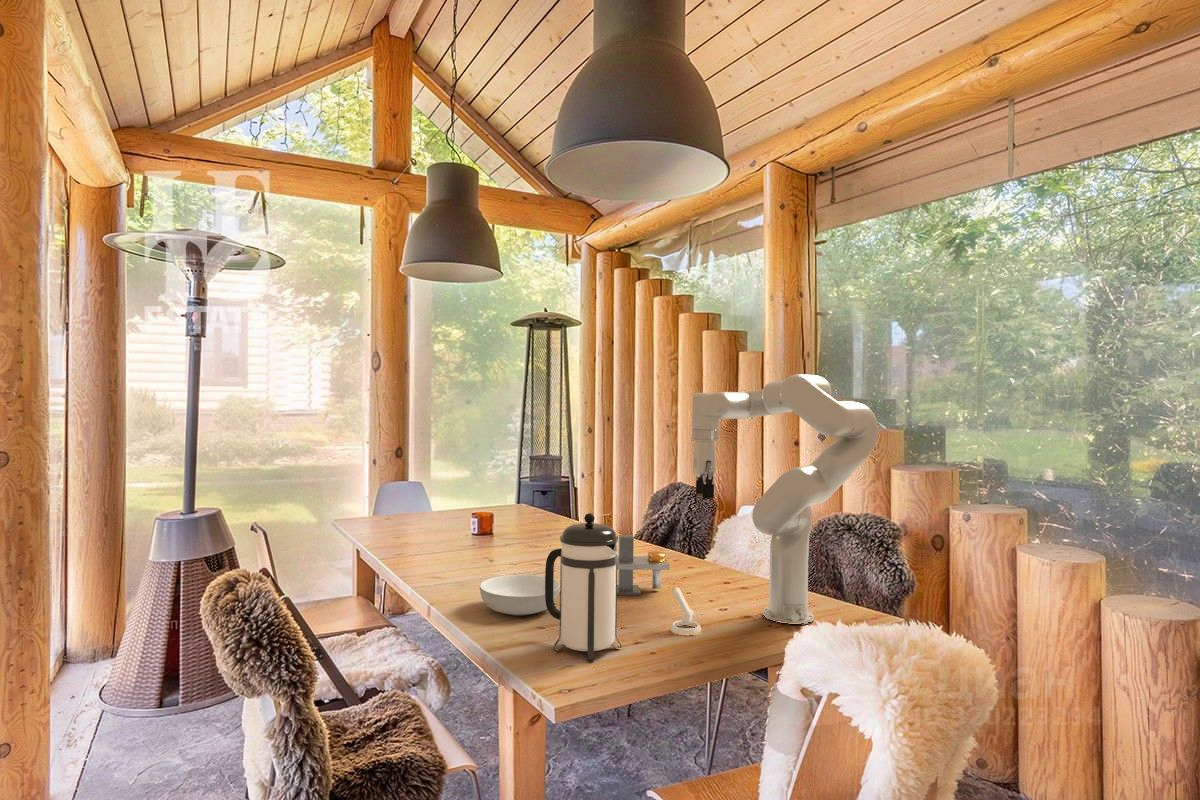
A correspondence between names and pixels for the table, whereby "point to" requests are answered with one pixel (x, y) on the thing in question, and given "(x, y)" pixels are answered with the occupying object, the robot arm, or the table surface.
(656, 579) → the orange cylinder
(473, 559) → the table surface
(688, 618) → the white ring with handle
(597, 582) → the coffee press
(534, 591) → the serving bowl
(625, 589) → the grey cross bracket
